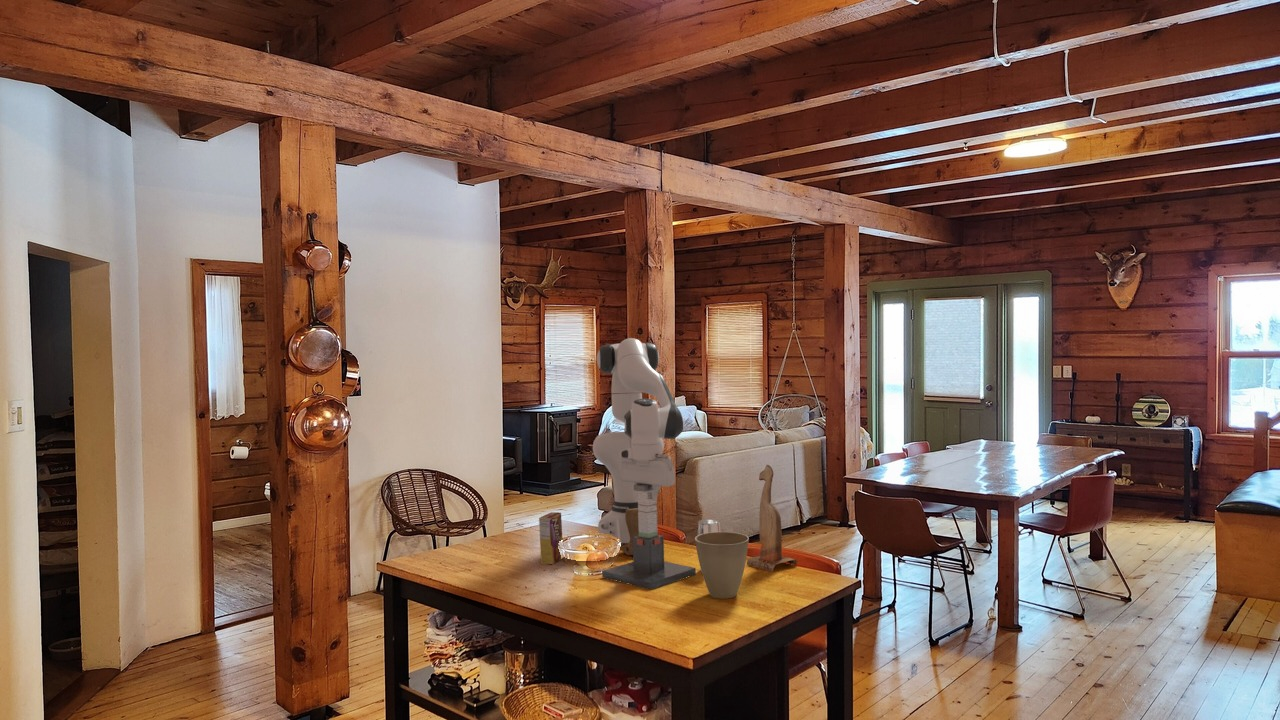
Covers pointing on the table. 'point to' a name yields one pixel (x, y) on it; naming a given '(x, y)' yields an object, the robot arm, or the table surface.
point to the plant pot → (722, 561)
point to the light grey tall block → (646, 511)
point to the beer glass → (708, 526)
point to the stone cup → (631, 529)
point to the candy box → (550, 537)
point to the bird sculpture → (769, 529)
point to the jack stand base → (648, 566)
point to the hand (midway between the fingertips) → (647, 498)
